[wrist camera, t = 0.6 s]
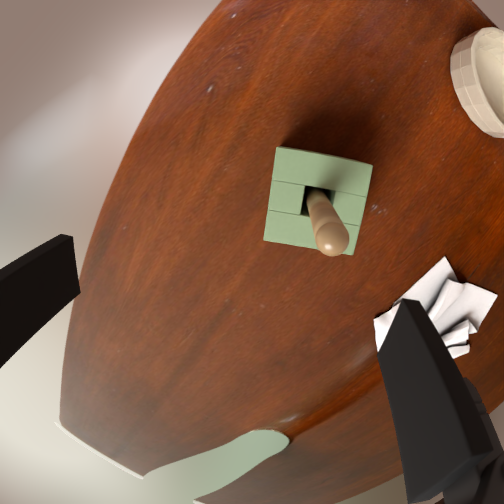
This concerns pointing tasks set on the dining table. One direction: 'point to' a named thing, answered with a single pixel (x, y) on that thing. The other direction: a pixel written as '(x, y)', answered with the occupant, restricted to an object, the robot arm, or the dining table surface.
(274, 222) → the stand
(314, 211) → the stick
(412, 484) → the robot arm
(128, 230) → the dining table surface
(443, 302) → the cloth
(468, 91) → the bowl
